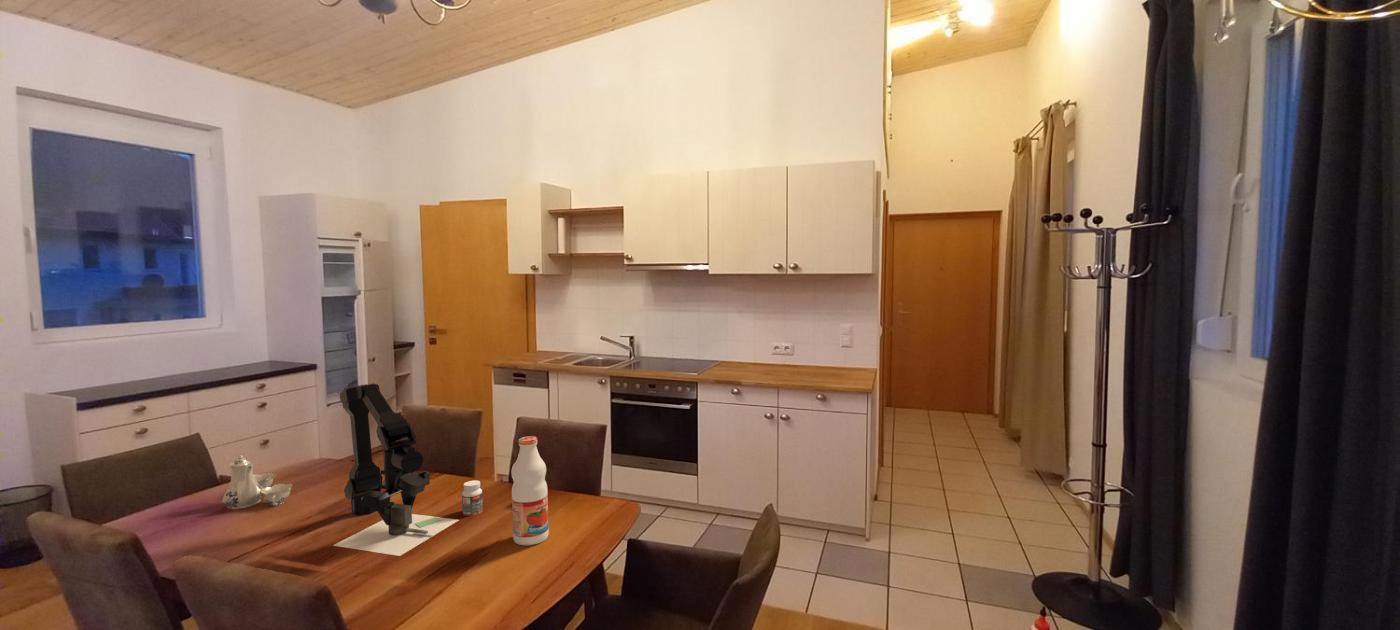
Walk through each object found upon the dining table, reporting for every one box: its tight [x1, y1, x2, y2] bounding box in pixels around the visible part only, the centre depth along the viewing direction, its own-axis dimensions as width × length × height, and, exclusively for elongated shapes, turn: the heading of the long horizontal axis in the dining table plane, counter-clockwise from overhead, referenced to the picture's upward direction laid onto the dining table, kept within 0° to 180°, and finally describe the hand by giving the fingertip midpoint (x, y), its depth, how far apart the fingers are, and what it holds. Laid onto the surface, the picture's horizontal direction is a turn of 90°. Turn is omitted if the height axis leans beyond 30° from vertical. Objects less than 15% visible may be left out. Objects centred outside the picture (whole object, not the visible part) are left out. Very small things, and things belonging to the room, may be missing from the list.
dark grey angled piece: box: [388, 502, 428, 535], centre depth 156 cm, size 13×5×7 cm, turn 74°
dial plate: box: [333, 513, 460, 557], centre depth 157 cm, size 22×22×1 cm
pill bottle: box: [461, 480, 484, 517], centre depth 170 cm, size 6×6×10 cm
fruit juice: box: [511, 435, 550, 546], centre depth 153 cm, size 9×9×28 cm
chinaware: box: [221, 454, 294, 510], centre depth 183 cm, size 28×17×17 cm, turn 58°
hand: (398, 519), depth 157 cm, fingers open, 7 cm apart
